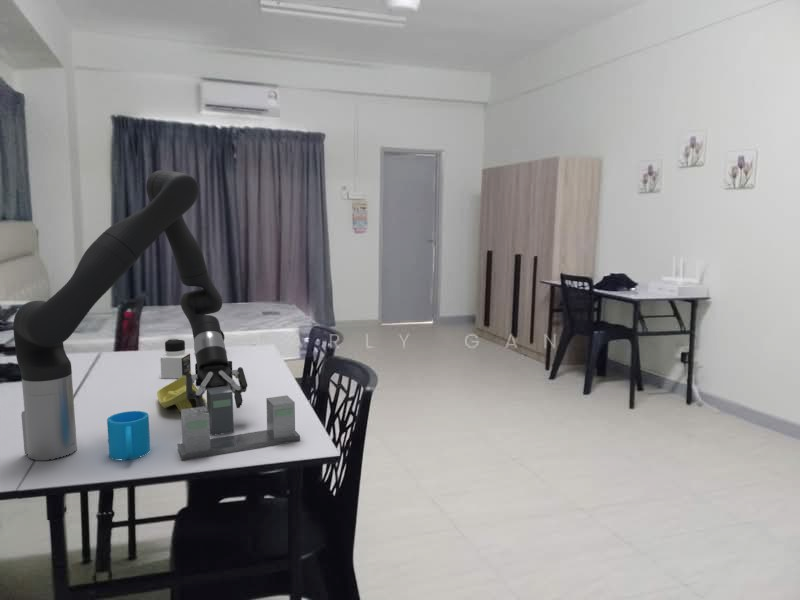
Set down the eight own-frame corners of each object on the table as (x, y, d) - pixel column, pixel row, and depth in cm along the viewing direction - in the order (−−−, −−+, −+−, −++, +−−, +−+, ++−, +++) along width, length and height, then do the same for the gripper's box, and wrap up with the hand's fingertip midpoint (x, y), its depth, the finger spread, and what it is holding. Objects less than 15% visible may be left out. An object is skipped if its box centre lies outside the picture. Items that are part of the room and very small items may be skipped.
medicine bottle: (182, 378, 187) (181, 342, 186) (160, 378, 187) (159, 342, 186) (191, 373, 194) (189, 337, 193) (170, 372, 194) (168, 337, 193)
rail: (181, 460, 123) (179, 418, 122) (177, 449, 130) (175, 409, 128) (300, 440, 135) (299, 402, 134) (291, 430, 142) (290, 394, 140)
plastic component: (156, 391, 166) (188, 372, 169) (169, 412, 168) (201, 394, 171) (159, 406, 148) (196, 385, 151) (174, 429, 150) (210, 408, 153)
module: (212, 435, 138) (210, 394, 137) (207, 427, 144) (206, 388, 142) (233, 432, 140) (232, 392, 139) (228, 424, 146) (227, 385, 145)
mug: (109, 449, 130) (107, 413, 128) (149, 443, 133) (147, 409, 132) (107, 470, 119) (105, 431, 118) (151, 463, 122) (149, 426, 121)
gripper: (182, 347, 143) (191, 405, 135) (240, 342, 150) (252, 397, 141) (180, 363, 148) (188, 420, 140) (237, 358, 155) (248, 412, 146)
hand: (220, 409), depth 141 cm, fingers open, 8 cm apart
